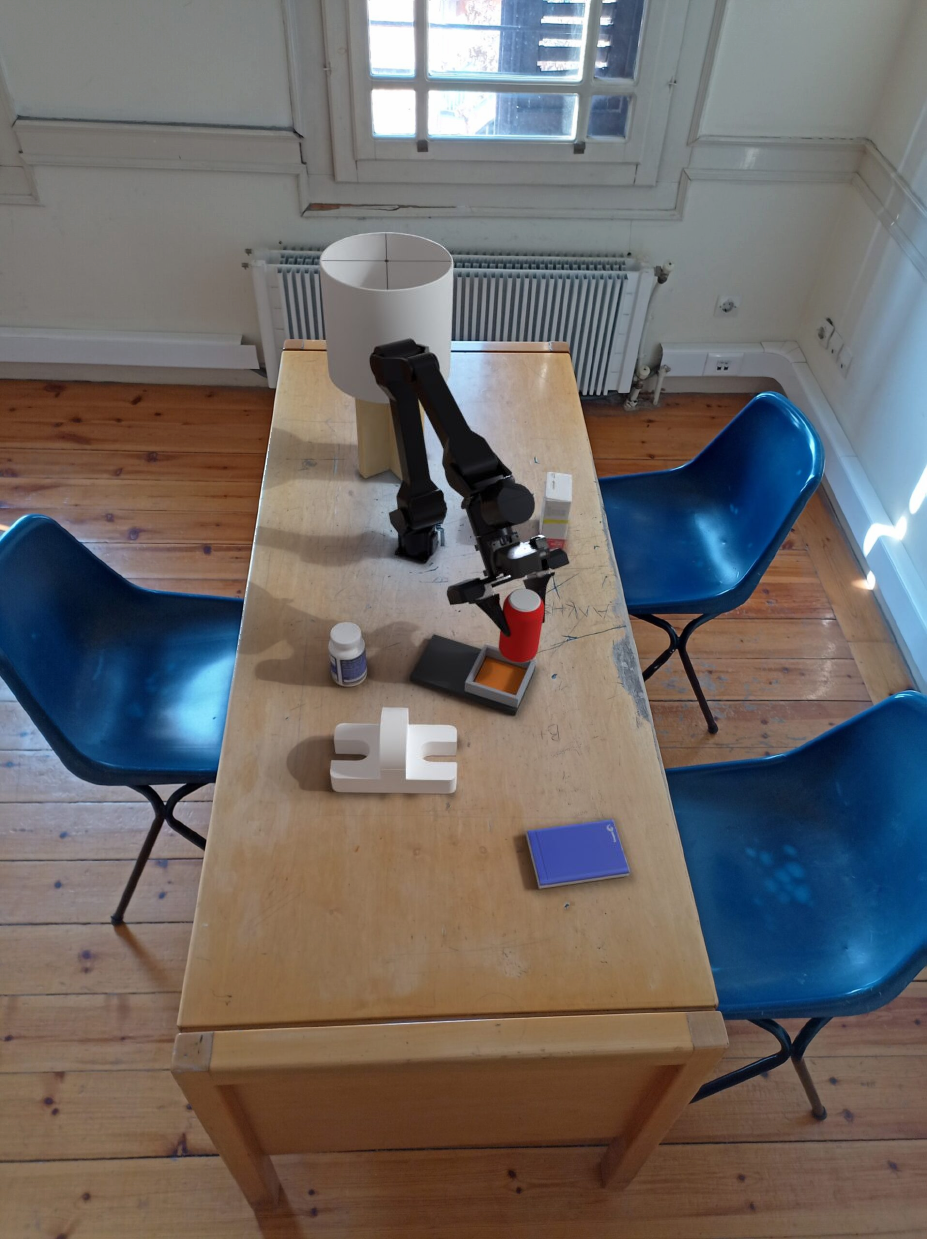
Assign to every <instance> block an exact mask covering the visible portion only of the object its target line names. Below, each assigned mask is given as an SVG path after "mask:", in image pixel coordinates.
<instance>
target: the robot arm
mask: <svg viewBox="0 0 927 1239" xmlns="http://www.w3.org/2000/svg"><path fill="white" fill-rule="evenodd" d="M369 362H370V367H371V370H372V373H373V375H374V376H375V380H376V383H377V385H378V386H379V387H380V388H381V390H382V391H383V392H384V393H385V394H386V395H387V396H388V398H389V402H390V408H391V414H392V420H393V425H394V431H395V437H396V443H397V449H398V455H399V461H400V467H401V473H402V479H403V481H402V480H401V483H400V486H399V488H398V490H397V492H396V498H395V499H396V509H393V510H392V511H389V512H388V517H389V522H390V525H391V526H392V527H393V529H394V530H395V532H396V533H397V547H396V548H395V550H394V556H397V557H400V558H402V559H403V558H404V559H405V560H410V561H413V562H417V563H419V564H420V563H421V564H423V565H424V564H425V565H426V564H427V563H428V562H429V560H430V559H431V557H432V556H434V554H435V553H436V551H437V550H438V548H439V544H440V542H439V531H438V530H436V527H437V526H440V525H443V524H444V521H445V519H446V517H447V513H448V506H447V504H448V503H447V501H446V500H445V492H443V490H442V489H441V488H439V487H438V485H436V483H435V482H434V481H433V480H432V478H431V472H430V467H429V466H430V465H429V460H428V452H427V447H426V440H425V432H424V433H423V426H422V420H421V413H420V406H419V401H420V403H421V405H422V407H423V409H424V414H425V416H426V417H427V419H428V421H429V423H430V425H431V427H432V428H433V431H434V433H435V435H436V437H437V439H438V440H439V443H440V445H441V448H442V449H443V450H442V460H441V465H442V468H443V470H444V477H445V479H446V482H447V484H448V485H449V487H450V489H453V491H455V492H456V493H457V494H458V495H459V496H460V497H462V498H463V499H462V501H461V502H460V508H461V510H465V512H466V516H467V519H468V521H469V524H470V527H471V530H472V533H473V537H474V538H475V542H476V544H473V546H474V550H475V552H479V554H480V557H481V560H482V563H483V566H484V569H483V570H482V573H483V576H484V577H483V578H481V577H474V578H473V577H472V578H467V579H465V580H462V581H460V582H457V583H454V584H451V585H448V586H447V589H446V597H447V601H448V603H449V605H450V606H454V605H464V604H467V603H468V605H476V606H477V607H478V609H480V610H481V611H482V612H483V613H484V614H486V616H488V618H489V619H490V620H491V621H492V622H493V623H494V624H495V626H496V627H497V628H498V629H499V631H500V630H501V631H502V633H503V634H504V635H505V636H506V637H510V636H511V633H510V629H509V626H508V623H507V621H506V618H505V616H504V613H503V611H502V610H503V607H502V606H501V600H500V599H501V598H500V597H501V595H500V593H495V592H494V589H493V588H497V587H499V586H501V585H504V584H507V583H510V582H512V581H515V580H519V579H522V582H523V585H524V589H529V590H532V591H534V592H536V593H537V594H538V595H539V596H540V598H541V599H542V601H543V604H544V615H543V622H542V624H545V623H546V596H547V589H548V584H549V582H550V580H551V578H552V577H554V576H555V575H556V571H554V570H557V569H560V568H563V567H564V566H567V565H570V560H569V557H568V554H567V552H566V551H565V549H564V550H563V549H561V548H555V549H550V548H549V545H548V543H547V540H546V538H545V536H542V535H536V536H532V537H530V538H529V541H525V542H523V541H522V539H521V536H520V534H519V533H518V531H517V530H516V531H514V530H513V527H514V526H518V525H523V524H525V523H526V522H528V521H529V520H530V519H531V518H532V516H533V515H534V512H535V508H536V501H535V497H534V494H533V493H532V492H531V491H530V489H529V488H527V487H526V486H525V485H523V484H522V483H517V482H516V478H515V477H514V475H513V471H512V470H511V469H510V468H509V467H507V466H506V464H504V462H503V461H502V460H501V459H500V457H499V456H498V455H497V454H496V453H495V452H494V451H493V449H492V447H491V445H490V444H489V443H488V441H487V440H486V439H485V437H484V436H482V435H480V434H478V433H477V432H476V431H473V430H472V429H471V427H470V425H469V424H468V422H467V421H466V419H465V417H464V415H463V413H462V411H461V409H460V407H459V405H458V403H457V401H456V399H455V396H454V395H453V393H452V391H451V390H450V387H449V386H448V383H447V382H445V380H444V378H443V376H442V374H441V372H440V365H439V361H438V359H437V357H436V355H435V354H434V353H431V352H430V350H429V346H425V345H422V344H416V343H415V341H414V340H413V339H411V338H409V339H404V340H400V341H396V342H392V343H388V344H384V345H380V346H376V347H375V348H374V351H373V353H371V356H370V359H369ZM418 399H419V400H418ZM551 570H553V571H551ZM525 577H526V578H525ZM523 578H525V579H523Z"/></svg>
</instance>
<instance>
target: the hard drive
mask: <svg viewBox="0 0 927 1239" xmlns="http://www.w3.org/2000/svg"><path fill="white" fill-rule="evenodd" d="M525 833H526V834H525V836H526V841H527V845H528V849H529V854H530V857H531V861H532V865H533V870H534V874H535V878H536V882H537V886H538V889H539V890H540V889H547V888H553V887H561V886H568V885H575V884H583V883H589V882H595V881H602V880H603V881H604V880H611V879H617V878H623V877H629V875H630V873H631V871H630V867H629V864H628V862H627V858H626V855H625V853H624V849H623V846H622V842H621V839H620V836H619V833H618V831H617V826H616V825H615V821H614V819H613V818H612V819H604V820H596V821H590V822H582V823H576V824H575V823H574V824H567V825H566V824H565V825H560V826H552V827H545V828H538V829H530V830H526V832H525Z"/></svg>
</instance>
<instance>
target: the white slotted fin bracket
mask: <svg viewBox="0 0 927 1239" xmlns="http://www.w3.org/2000/svg"><path fill="white" fill-rule="evenodd" d="M381 709H382V710H381V716H380V723H355V722H354V723H353V722H351V723H350V722H342V723H338V725H336V726H335V728H334V736H333V743H334V744H333V745H334V753H335V754H336V755H362V756H364V757H365V756H366V757H365V758H363V759H360V760H337V759H336V760H335V759H334V760H333V759H331V760H330V767H329V768H330V770H329V774H330V781H331V788H332V790H333V791H334V792H336V793H365V794H366V793H368V794H369V793H371V794H426V795H427V794H428V795H429V794H430V795H431V794H432V795H433V794H435V795H437V794H438V795H440V794H441V795H450V794H453V793H454V792H455V791H456V789H457V781H458V778H457V777H458V762H455V761H454V762H453V761H452V762H450V761H428V760H426V759H425V758H426V757H430V756H436V757H437V756H439V757H440V756H443V757H444V756H445V757H446V756H447V757H456V756H457V746H458V730H457V728H456V727H455V726H454V725H452V724H451V725H450V724H413V723H411V724H410V721H409V719H410V718H409V716H410V715H409V707H399V706H398V707H393V706H391V707H389V706H383V707H382V708H381Z"/></svg>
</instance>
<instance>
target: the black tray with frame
mask: <svg viewBox="0 0 927 1239" xmlns="http://www.w3.org/2000/svg"><path fill="white" fill-rule="evenodd" d="M535 671H536V659H535V658H533V659H532V660H531V661H529V662H526V663H514V662H511V661H509V660H507V659H506V658H505V657H504V656H503V655H502V654H501V653H500V651H499V647H497V646H493V645H489V644H486V643H484V644H483V646H482V647H481V648H479V647H477V646H473V645H470V644H468V643H467V644H466V643H463V642H459V641H457V640H453V639H451V638H448V637H445V636H441V635H438V634H434V633H433V634H432V635H431V638H430V639H429V642H427V645H426V646H425V649H424V650H423V652H422V654H421V656H420V657H419V659H418V661H417V663H416V664H415V666H414V668H413V670H412V671H411V673H410V675H409V682H412V683H414V684H417V685H421V686H424V687H426V688H431V689H433V690H436V691H438V692H441V693H445V694H448V695H450V696H454V697H457V698H461V699H464V700H466V701H470V702H473V703H475V704H479V705H482V706H485V707H488V708H491V709H494V710H497V711H499V712H503V713H505V714H506V713H507V714H508V715H512V716H516V715H517V713H518V711H519V709H520V706H521V704H522V701H523V699H524V698H525V694H526V692H527V690H528V688H529V685H530V683H531V681H532V678H533V676H534V674H535Z"/></svg>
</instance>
